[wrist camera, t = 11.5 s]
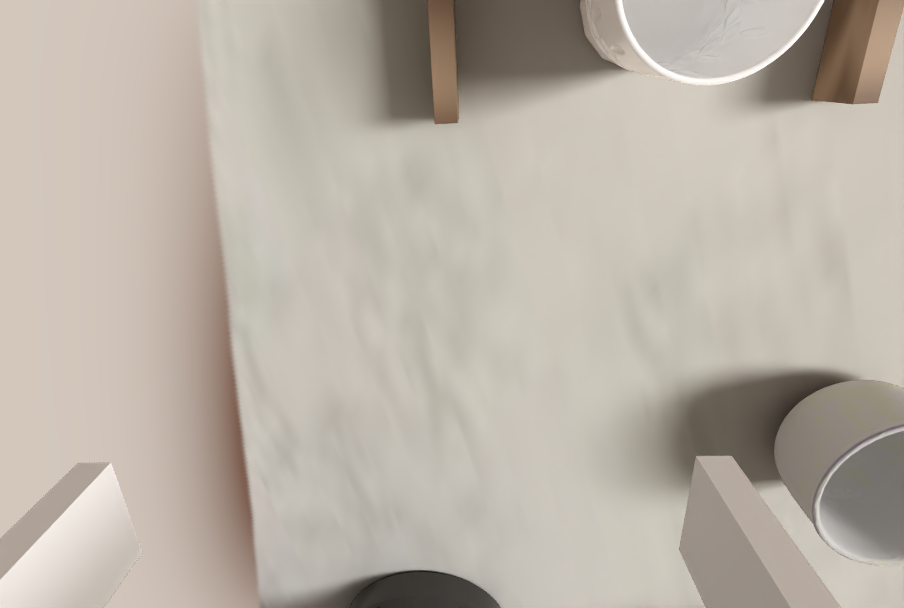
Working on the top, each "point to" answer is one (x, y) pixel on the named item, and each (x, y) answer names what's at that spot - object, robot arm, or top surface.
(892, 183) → the top surface
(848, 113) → the top surface
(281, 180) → the top surface
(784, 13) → the white cup
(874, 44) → the brown wooden open frame
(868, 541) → the teacup
